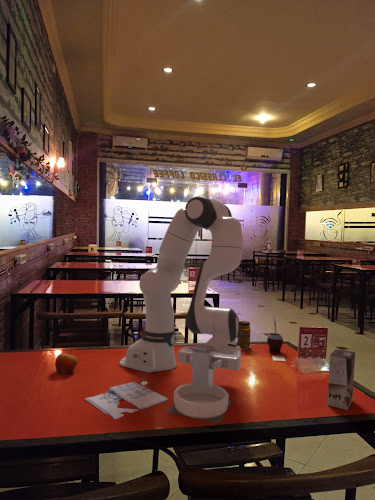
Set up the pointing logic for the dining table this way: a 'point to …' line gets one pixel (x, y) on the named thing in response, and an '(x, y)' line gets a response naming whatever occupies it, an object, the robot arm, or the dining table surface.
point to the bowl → (201, 401)
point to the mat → (215, 419)
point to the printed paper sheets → (127, 392)
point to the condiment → (244, 335)
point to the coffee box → (341, 379)
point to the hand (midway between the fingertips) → (202, 365)
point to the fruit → (65, 363)
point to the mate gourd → (275, 341)
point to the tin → (202, 368)
